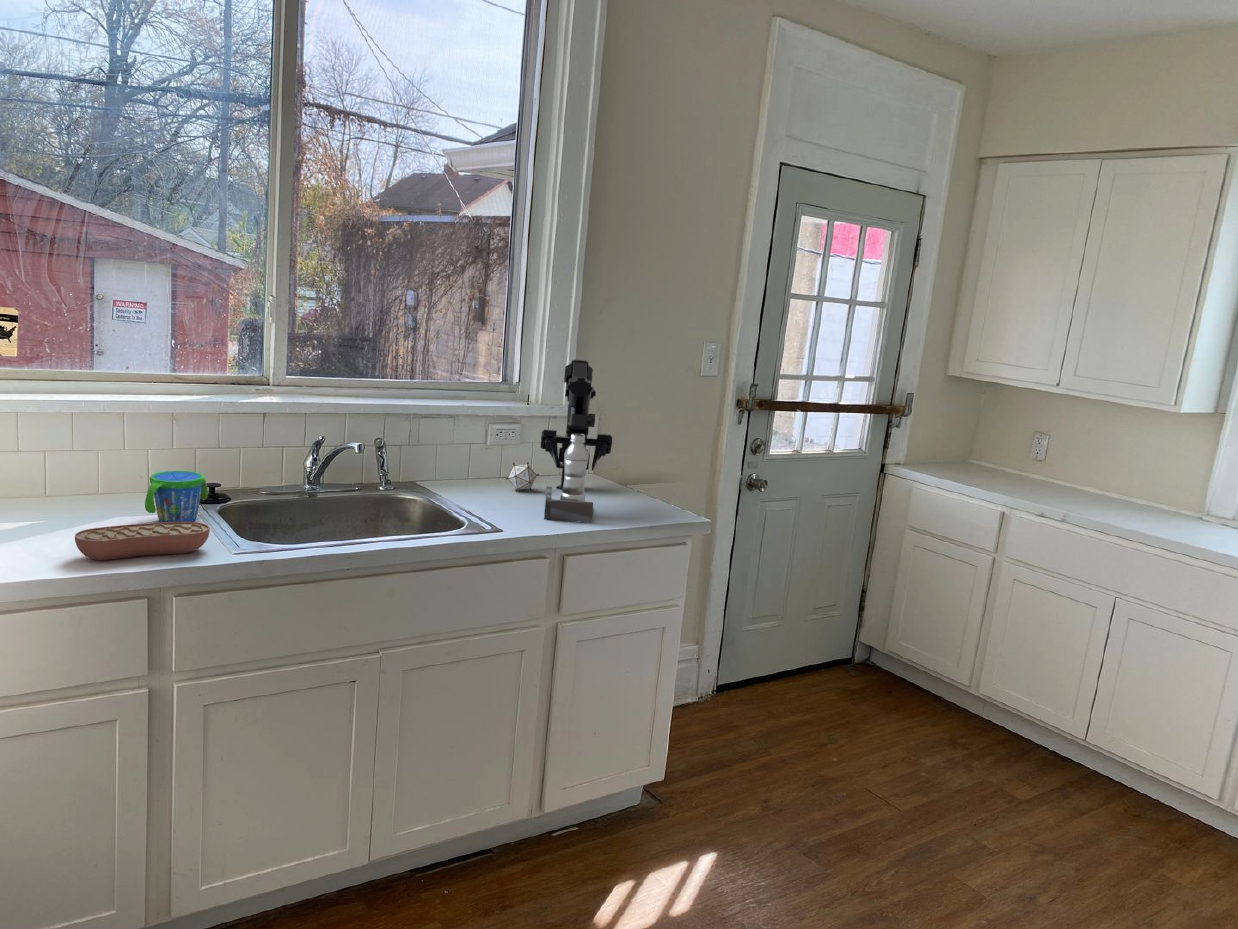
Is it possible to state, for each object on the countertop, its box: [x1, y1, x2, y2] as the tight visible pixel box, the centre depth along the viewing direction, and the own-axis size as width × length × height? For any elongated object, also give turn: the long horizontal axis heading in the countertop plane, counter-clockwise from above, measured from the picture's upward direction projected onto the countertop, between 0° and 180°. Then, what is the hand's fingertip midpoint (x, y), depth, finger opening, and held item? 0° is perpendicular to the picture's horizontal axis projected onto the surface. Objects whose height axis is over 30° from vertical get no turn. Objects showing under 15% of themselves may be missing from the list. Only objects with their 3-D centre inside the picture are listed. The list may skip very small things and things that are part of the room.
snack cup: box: [144, 470, 209, 523], centre depth 195 cm, size 16×10×10 cm
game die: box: [504, 461, 540, 493], centre depth 254 cm, size 9×8×10 cm
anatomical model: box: [74, 521, 211, 561], centre depth 172 cm, size 23×10×5 cm, turn 127°
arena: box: [543, 486, 594, 524], centre depth 233 cm, size 16×12×5 cm
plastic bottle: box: [559, 434, 590, 502], centre depth 231 cm, size 6×7×20 cm
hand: (574, 468), depth 233 cm, fingers open, 9 cm apart
